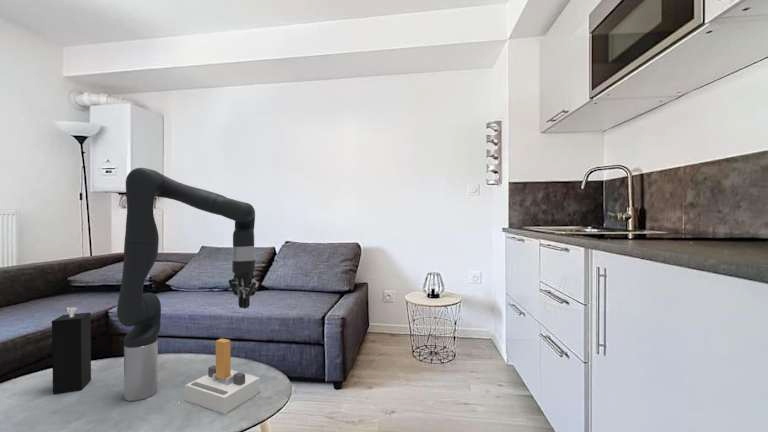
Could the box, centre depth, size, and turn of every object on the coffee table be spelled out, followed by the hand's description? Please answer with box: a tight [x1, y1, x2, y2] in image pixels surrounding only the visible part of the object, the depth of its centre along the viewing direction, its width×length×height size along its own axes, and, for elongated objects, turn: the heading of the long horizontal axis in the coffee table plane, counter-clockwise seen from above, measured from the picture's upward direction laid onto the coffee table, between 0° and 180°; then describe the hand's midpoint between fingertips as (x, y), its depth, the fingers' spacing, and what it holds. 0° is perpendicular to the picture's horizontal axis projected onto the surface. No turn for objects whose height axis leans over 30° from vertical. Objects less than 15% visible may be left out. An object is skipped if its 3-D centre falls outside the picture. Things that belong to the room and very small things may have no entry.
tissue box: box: [51, 306, 92, 395], centre depth 120 cm, size 8×8×28 cm
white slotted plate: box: [184, 364, 261, 415], centre depth 114 cm, size 18×14×8 cm
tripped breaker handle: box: [215, 338, 232, 380], centre depth 114 cm, size 4×2×13 cm, turn 65°
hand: (244, 307), depth 122 cm, fingers closed
